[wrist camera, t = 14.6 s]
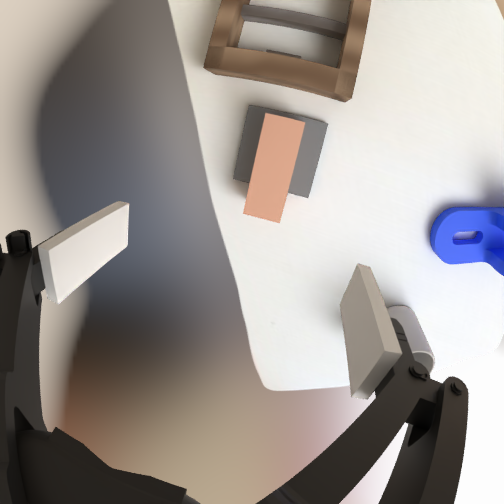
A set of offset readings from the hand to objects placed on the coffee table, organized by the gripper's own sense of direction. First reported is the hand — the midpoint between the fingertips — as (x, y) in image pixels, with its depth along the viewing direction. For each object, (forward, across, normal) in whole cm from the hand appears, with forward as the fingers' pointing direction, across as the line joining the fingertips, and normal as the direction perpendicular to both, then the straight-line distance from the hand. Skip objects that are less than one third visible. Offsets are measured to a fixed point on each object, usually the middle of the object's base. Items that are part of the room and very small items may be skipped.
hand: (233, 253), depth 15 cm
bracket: (+24, +33, +2) cm, 41 cm away
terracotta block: (+23, 0, +2) cm, 23 cm away
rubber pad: (+24, 0, +4) cm, 24 cm away
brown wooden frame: (+24, -2, +22) cm, 33 cm away
